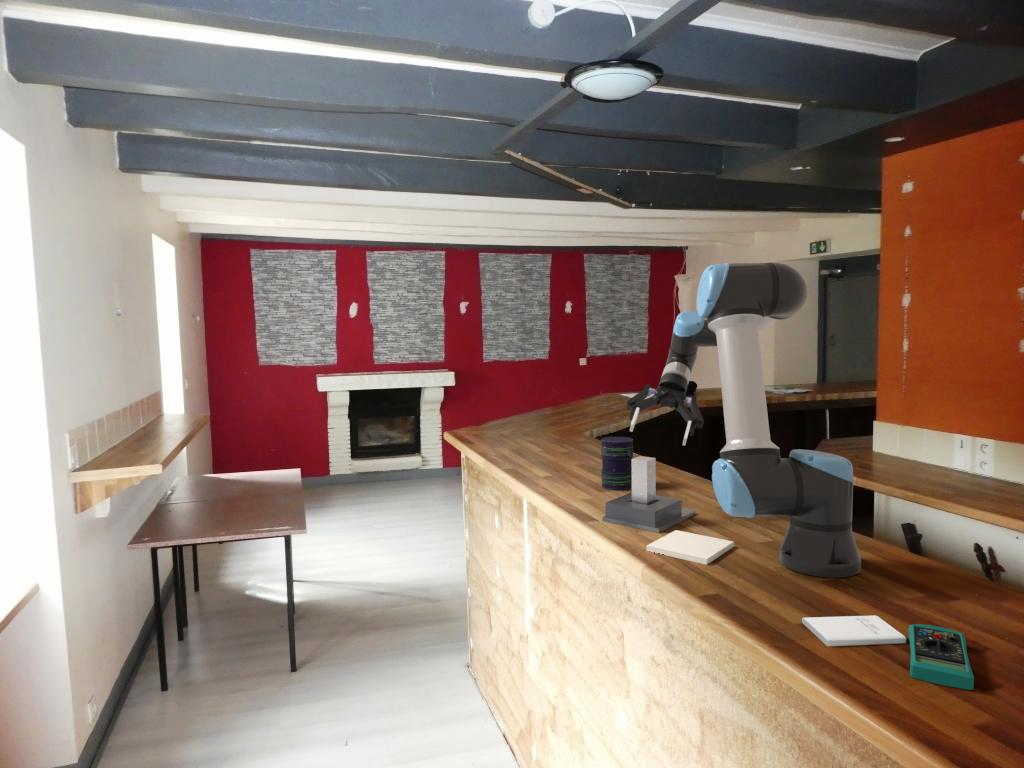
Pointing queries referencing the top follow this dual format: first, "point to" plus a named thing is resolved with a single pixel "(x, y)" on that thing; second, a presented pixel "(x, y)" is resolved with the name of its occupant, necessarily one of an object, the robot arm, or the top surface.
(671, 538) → the cream pad
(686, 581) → the top surface
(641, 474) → the aluminium plug
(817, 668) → the top surface
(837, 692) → the top surface
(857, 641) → the external hard drive
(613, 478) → the storage jar
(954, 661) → the digital multimeter
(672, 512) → the socket block
